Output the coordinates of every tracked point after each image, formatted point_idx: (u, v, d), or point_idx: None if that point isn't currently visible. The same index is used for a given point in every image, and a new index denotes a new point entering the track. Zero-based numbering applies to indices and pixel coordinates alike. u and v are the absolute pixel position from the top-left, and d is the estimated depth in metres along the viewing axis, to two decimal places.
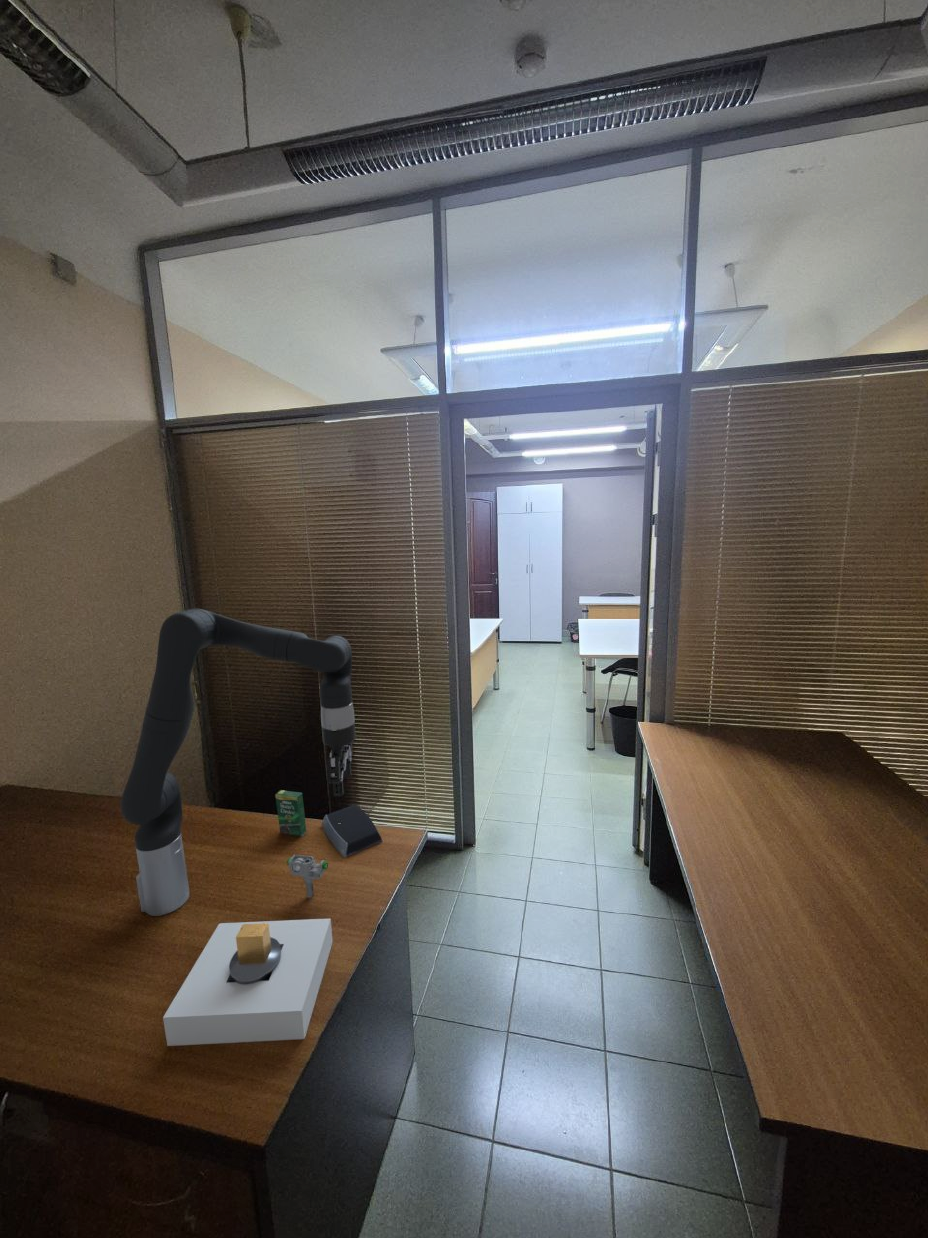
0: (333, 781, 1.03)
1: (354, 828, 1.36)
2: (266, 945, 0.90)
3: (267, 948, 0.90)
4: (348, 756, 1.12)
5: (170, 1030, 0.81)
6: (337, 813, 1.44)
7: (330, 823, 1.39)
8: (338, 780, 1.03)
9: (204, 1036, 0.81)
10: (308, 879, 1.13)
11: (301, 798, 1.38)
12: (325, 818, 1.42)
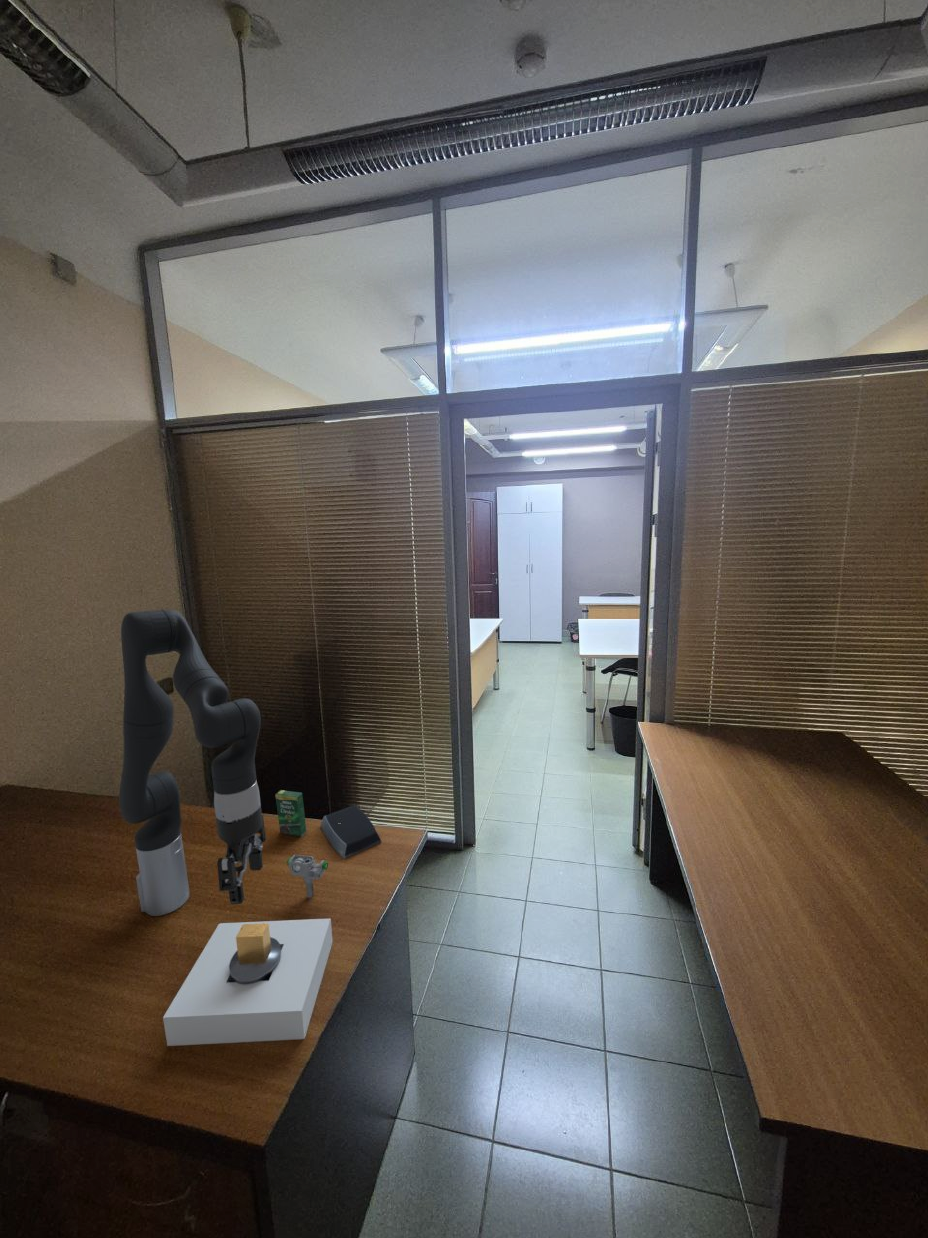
0: (226, 889, 0.80)
1: (353, 829, 1.36)
2: (266, 945, 0.90)
3: (267, 948, 0.90)
4: (256, 846, 0.89)
5: (170, 1030, 0.81)
6: (336, 813, 1.44)
7: (329, 824, 1.38)
8: (232, 887, 0.80)
9: (204, 1036, 0.81)
10: (308, 879, 1.13)
11: (301, 798, 1.38)
12: (324, 819, 1.42)
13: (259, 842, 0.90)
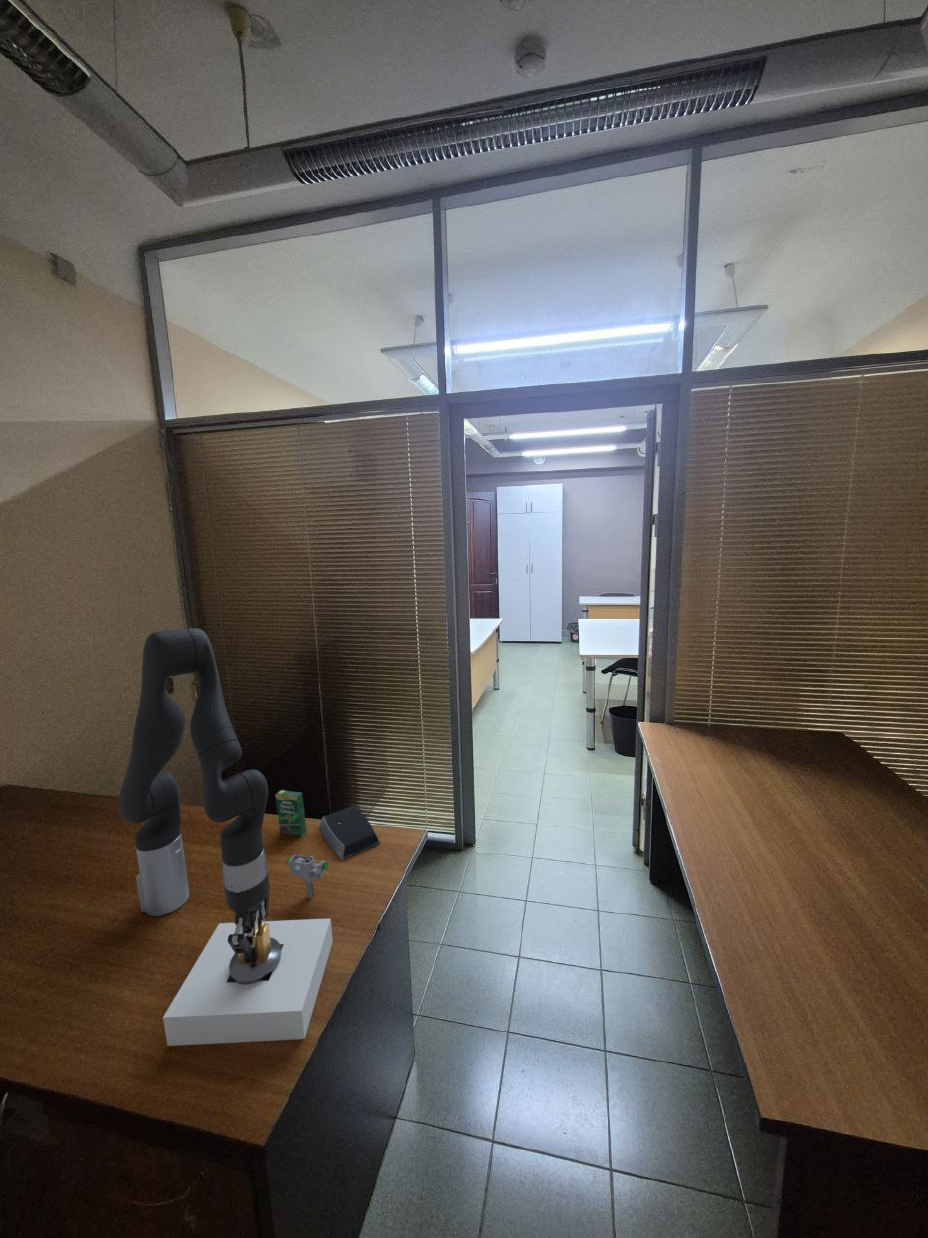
0: (241, 951, 0.85)
1: (351, 830, 1.35)
2: (266, 945, 0.90)
3: (267, 948, 0.90)
4: (260, 917, 0.90)
5: (170, 1030, 0.81)
6: (335, 814, 1.43)
7: (327, 825, 1.38)
8: (247, 950, 0.85)
9: (204, 1036, 0.81)
10: (308, 879, 1.13)
11: (301, 798, 1.38)
12: (322, 820, 1.42)
13: (264, 913, 0.91)
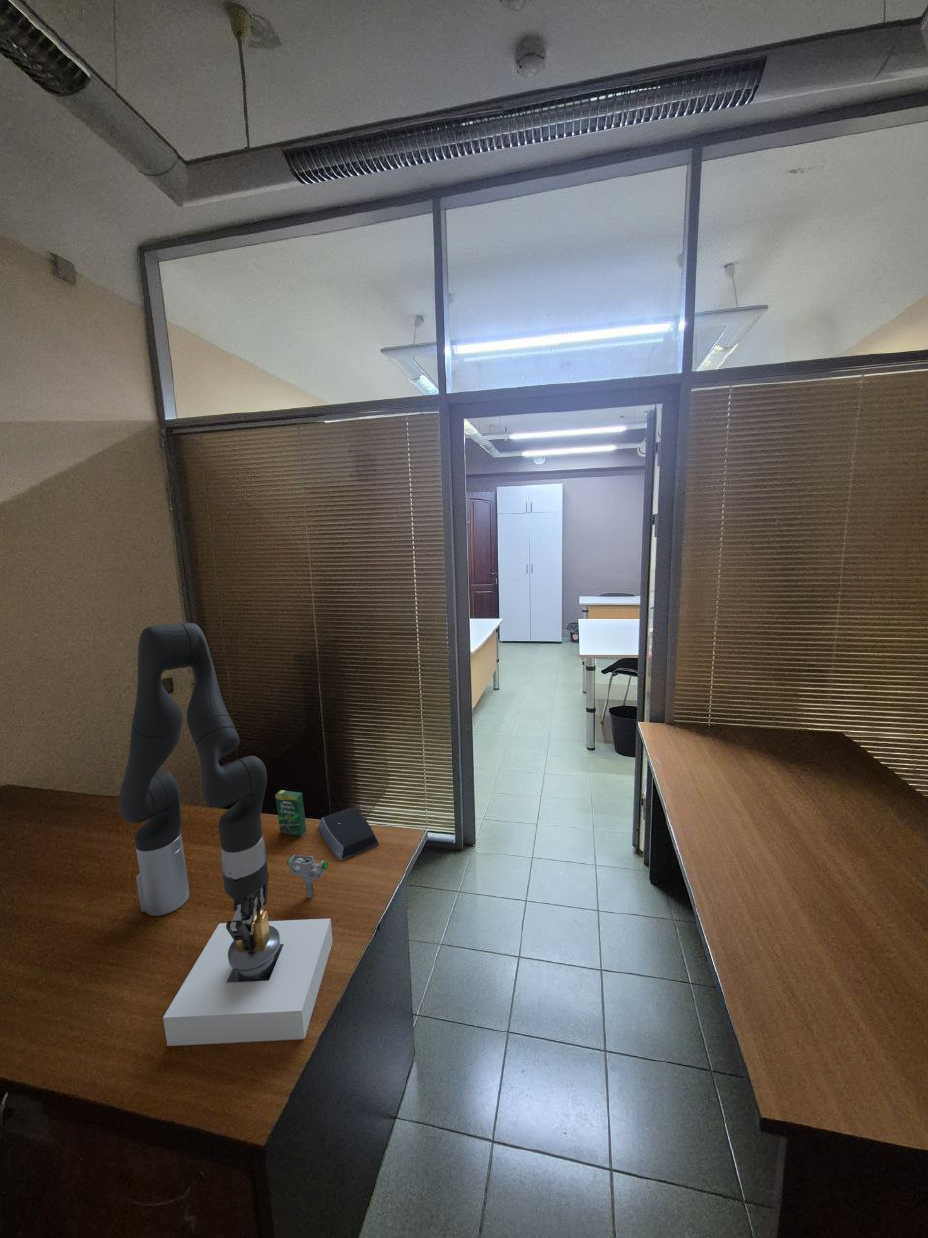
0: (239, 938, 0.84)
1: (350, 831, 1.35)
2: (265, 932, 0.89)
3: (265, 935, 0.89)
4: (258, 904, 0.90)
5: (170, 1030, 0.81)
6: (334, 815, 1.43)
7: (326, 826, 1.38)
8: (245, 937, 0.84)
9: (204, 1036, 0.81)
10: (308, 879, 1.13)
11: (301, 798, 1.38)
12: (322, 820, 1.41)
13: (262, 901, 0.90)
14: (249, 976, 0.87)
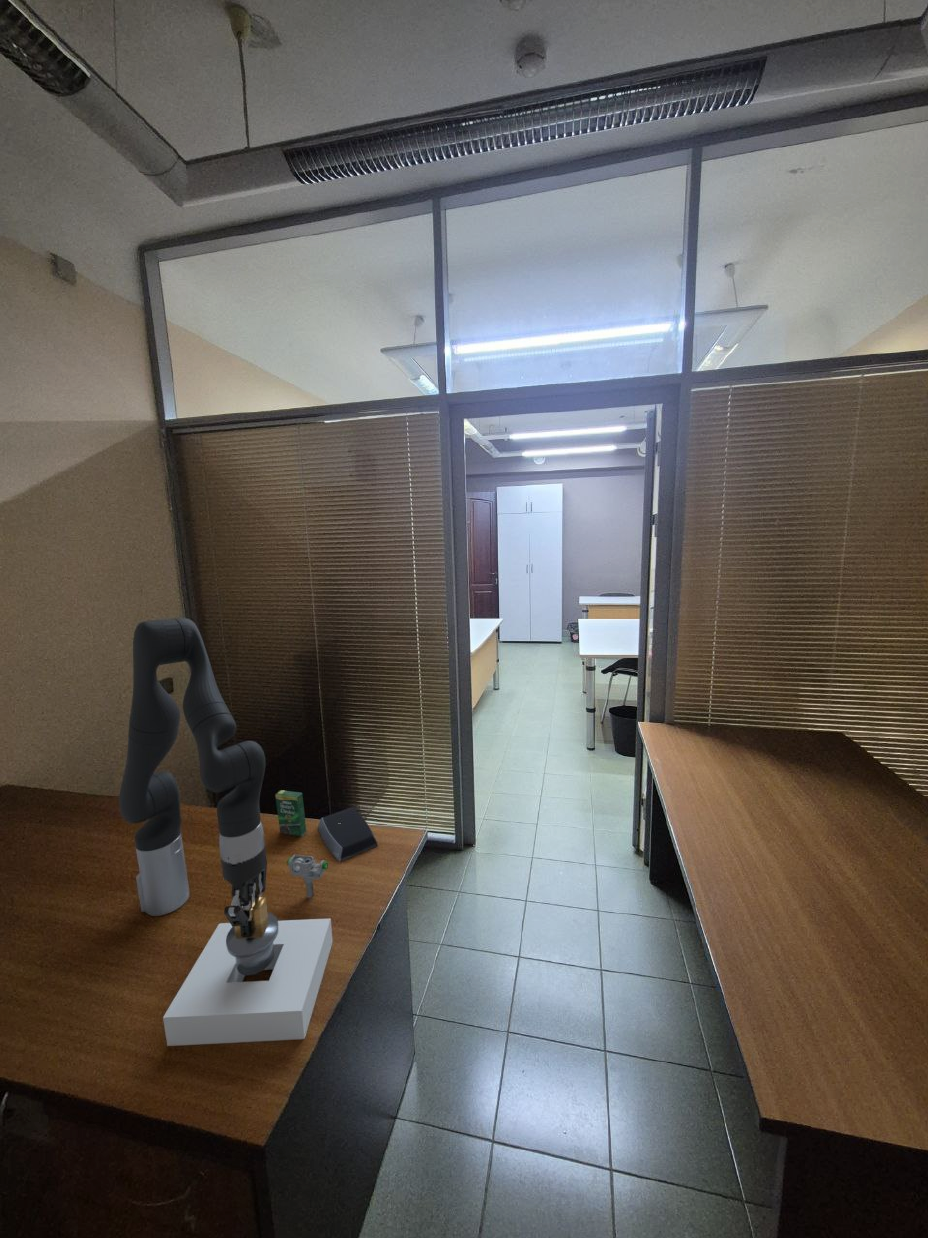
0: (238, 924, 0.84)
1: (349, 832, 1.34)
2: (264, 919, 0.89)
3: (264, 922, 0.89)
4: (257, 891, 0.89)
5: (170, 1030, 0.81)
6: (334, 815, 1.43)
7: (326, 826, 1.37)
8: (244, 923, 0.84)
9: (204, 1036, 0.81)
10: (308, 879, 1.13)
11: (301, 798, 1.38)
12: (321, 821, 1.41)
13: (261, 887, 0.90)
14: (247, 962, 0.87)
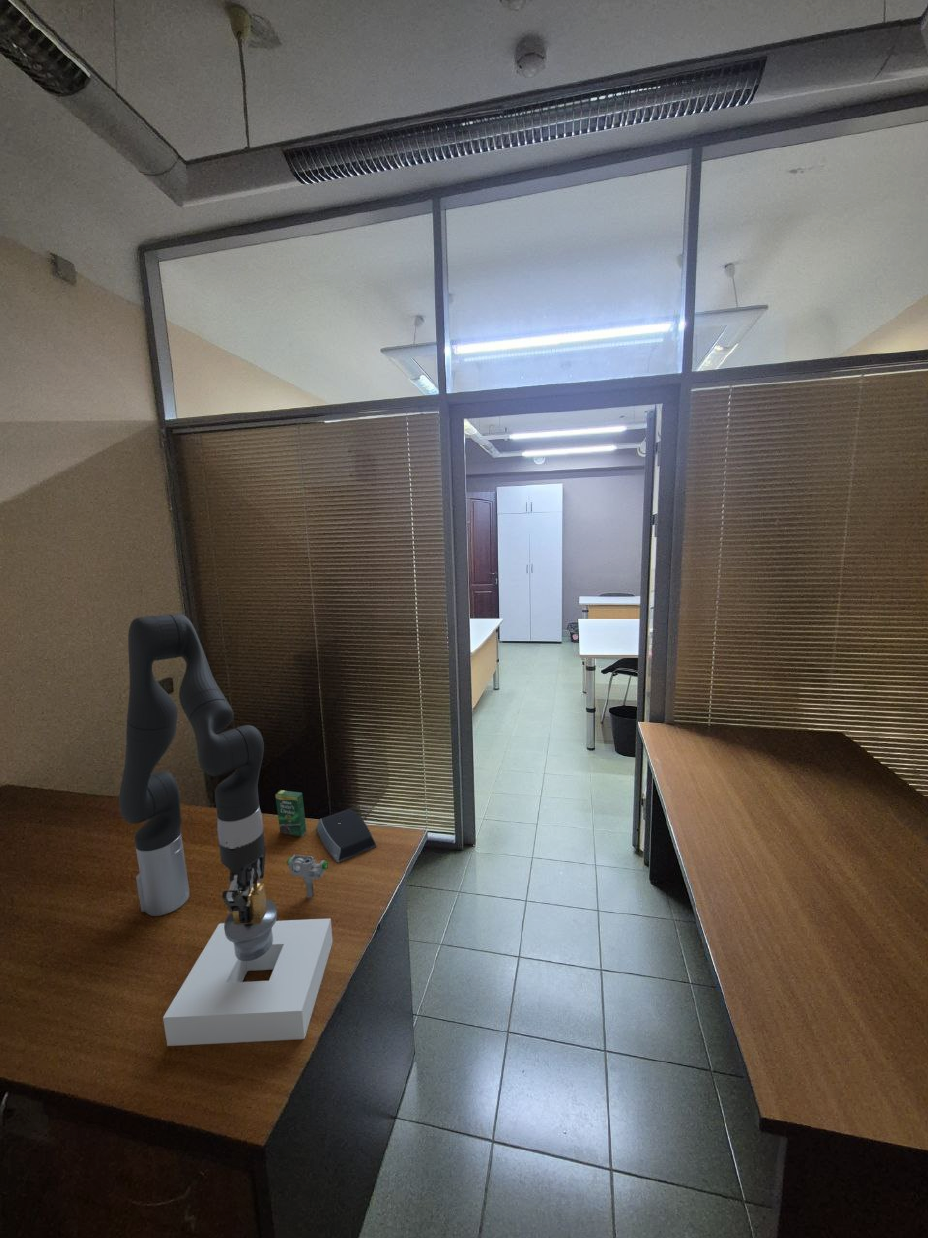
0: (236, 909, 0.83)
1: (347, 833, 1.34)
2: (262, 905, 0.88)
3: (262, 908, 0.88)
4: (255, 877, 0.89)
5: (170, 1030, 0.81)
6: (332, 816, 1.42)
7: (324, 827, 1.37)
8: (242, 908, 0.83)
9: (204, 1036, 0.81)
10: (308, 879, 1.13)
11: (301, 798, 1.38)
12: (319, 822, 1.40)
13: (259, 873, 0.89)
14: (246, 948, 0.86)
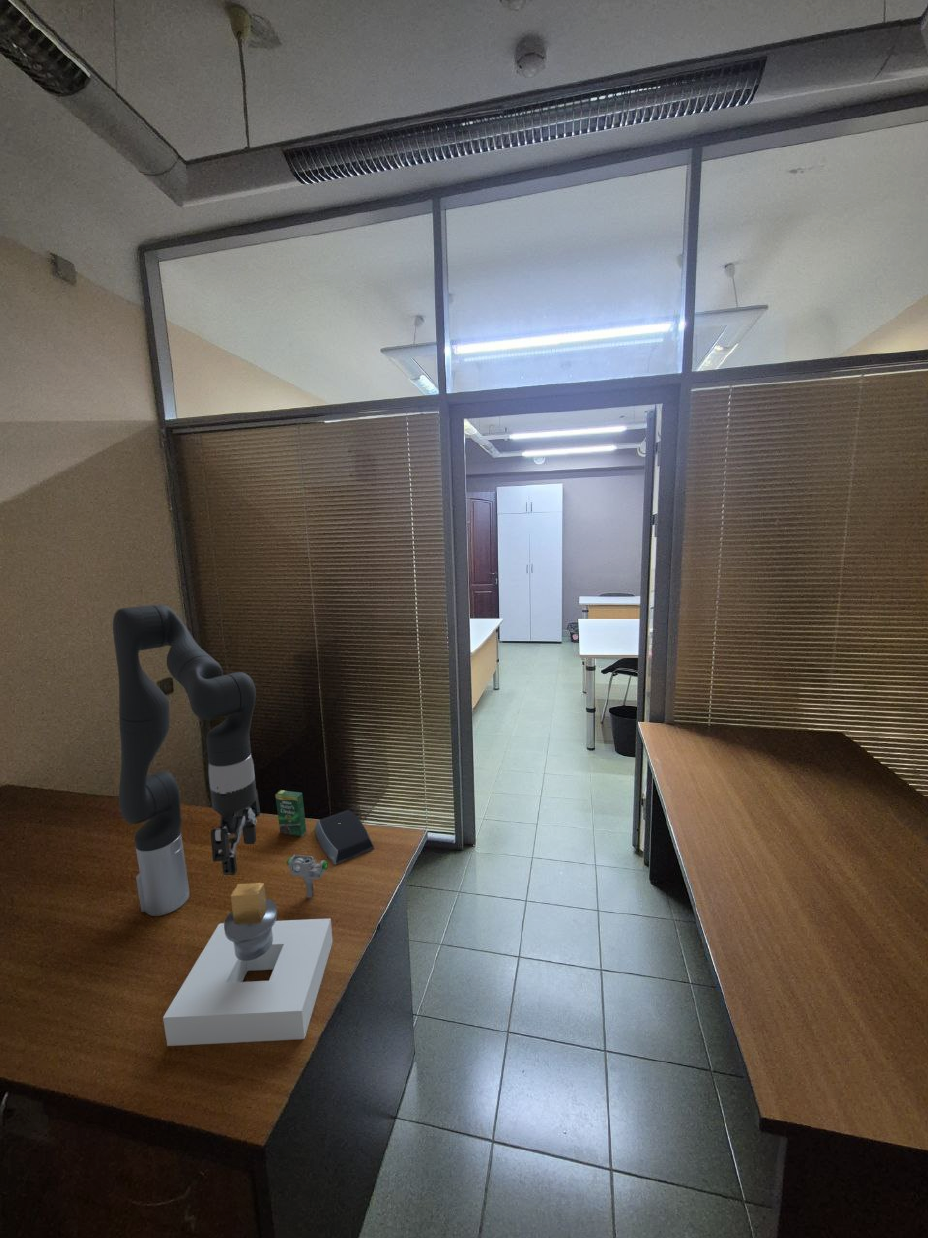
0: (219, 859, 0.81)
1: (345, 835, 1.33)
2: (262, 904, 0.88)
3: (262, 907, 0.88)
4: (250, 820, 0.90)
5: (170, 1030, 0.81)
6: (330, 818, 1.42)
7: (322, 829, 1.36)
8: (225, 858, 0.81)
9: (204, 1036, 0.81)
10: (308, 879, 1.13)
11: (301, 798, 1.38)
12: (317, 823, 1.40)
13: (253, 816, 0.90)
14: (246, 947, 0.86)
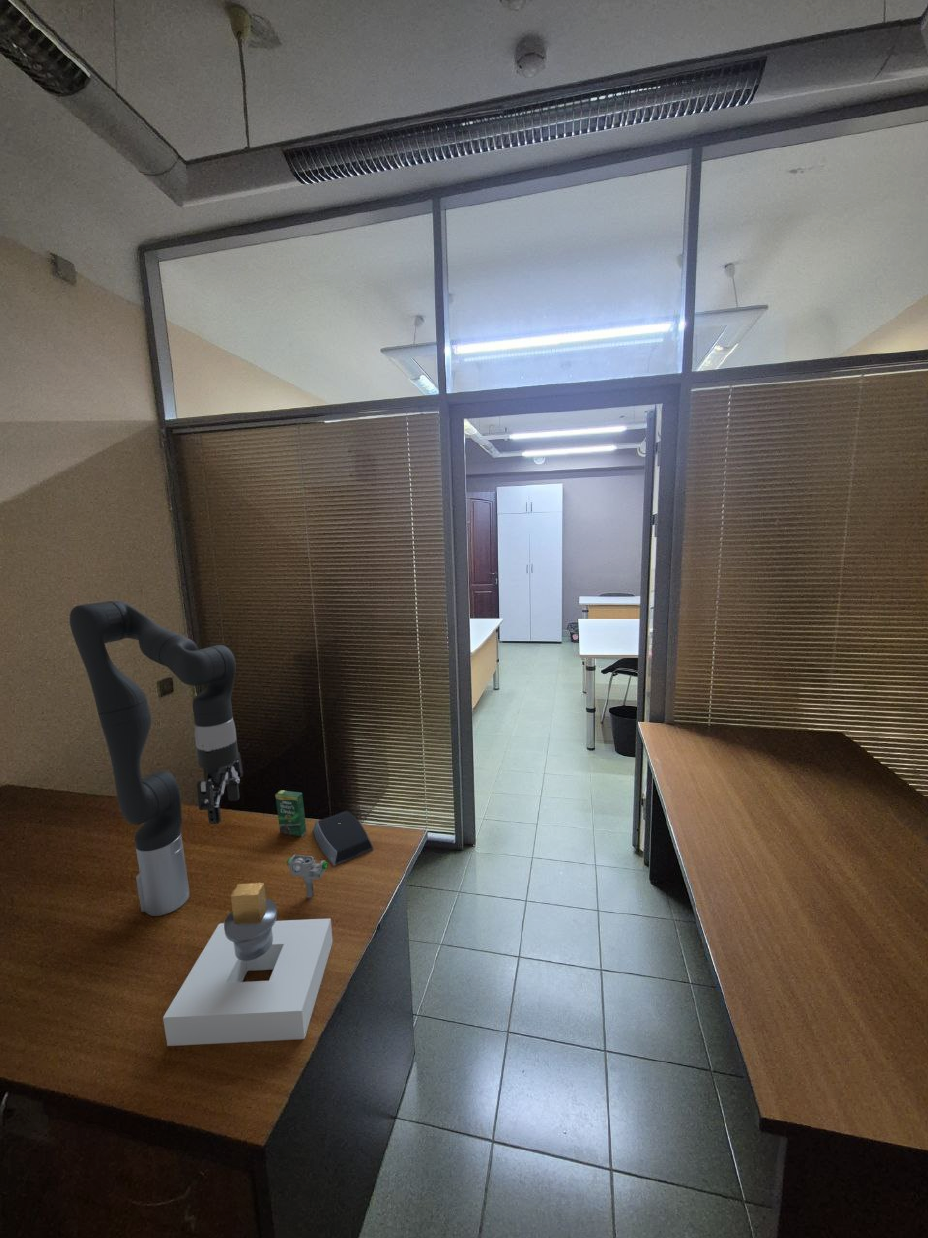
0: (204, 808, 0.92)
1: (344, 836, 1.33)
2: (262, 904, 0.88)
3: (262, 907, 0.88)
4: (233, 778, 1.01)
5: (170, 1030, 0.81)
6: (329, 819, 1.41)
7: (321, 830, 1.36)
8: (210, 807, 0.92)
9: (204, 1036, 0.81)
10: (308, 879, 1.13)
11: (301, 798, 1.38)
12: (316, 824, 1.39)
13: (236, 774, 1.02)
14: (246, 947, 0.86)
